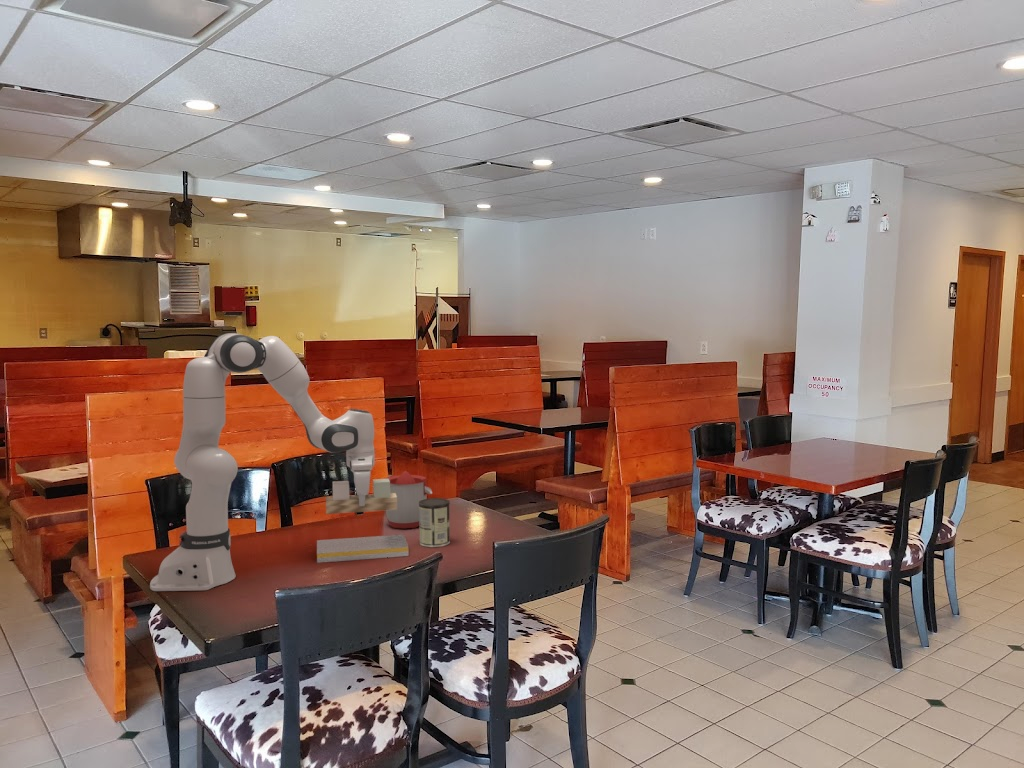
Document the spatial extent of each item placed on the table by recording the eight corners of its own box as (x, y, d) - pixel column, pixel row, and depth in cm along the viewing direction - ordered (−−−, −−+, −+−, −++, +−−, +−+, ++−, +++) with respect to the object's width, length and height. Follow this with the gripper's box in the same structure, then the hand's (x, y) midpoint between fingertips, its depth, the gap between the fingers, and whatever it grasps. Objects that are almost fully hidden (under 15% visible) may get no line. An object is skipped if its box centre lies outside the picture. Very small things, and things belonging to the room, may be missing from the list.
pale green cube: (374, 498, 242) (374, 482, 241) (373, 494, 246) (372, 479, 246) (390, 497, 243) (390, 481, 242) (388, 493, 248) (388, 478, 247)
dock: (317, 563, 234) (316, 553, 234) (317, 549, 248) (317, 540, 248) (408, 556, 241) (408, 546, 241) (403, 543, 255) (403, 534, 255)
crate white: (333, 500, 239) (332, 484, 238) (332, 496, 243) (332, 481, 243) (349, 499, 240) (349, 483, 239) (348, 496, 245) (348, 480, 244)
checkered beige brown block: (326, 514, 238) (326, 501, 238) (326, 509, 244) (325, 497, 243) (397, 509, 243) (397, 497, 243) (395, 505, 249) (395, 493, 249)
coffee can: (431, 536, 262) (430, 496, 261) (455, 541, 257) (455, 500, 256) (412, 544, 254) (412, 502, 252) (437, 549, 248) (437, 506, 247)
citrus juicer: (429, 531, 269) (428, 475, 267) (380, 530, 270) (379, 475, 268) (435, 519, 285) (434, 466, 283) (388, 519, 285) (387, 466, 283)
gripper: (349, 454, 251) (350, 495, 253) (351, 466, 232) (352, 511, 233) (368, 453, 253) (369, 494, 254) (372, 465, 233) (373, 509, 234)
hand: (361, 502), depth 243 cm, fingers closed on checkered beige brown block, 6 cm apart
